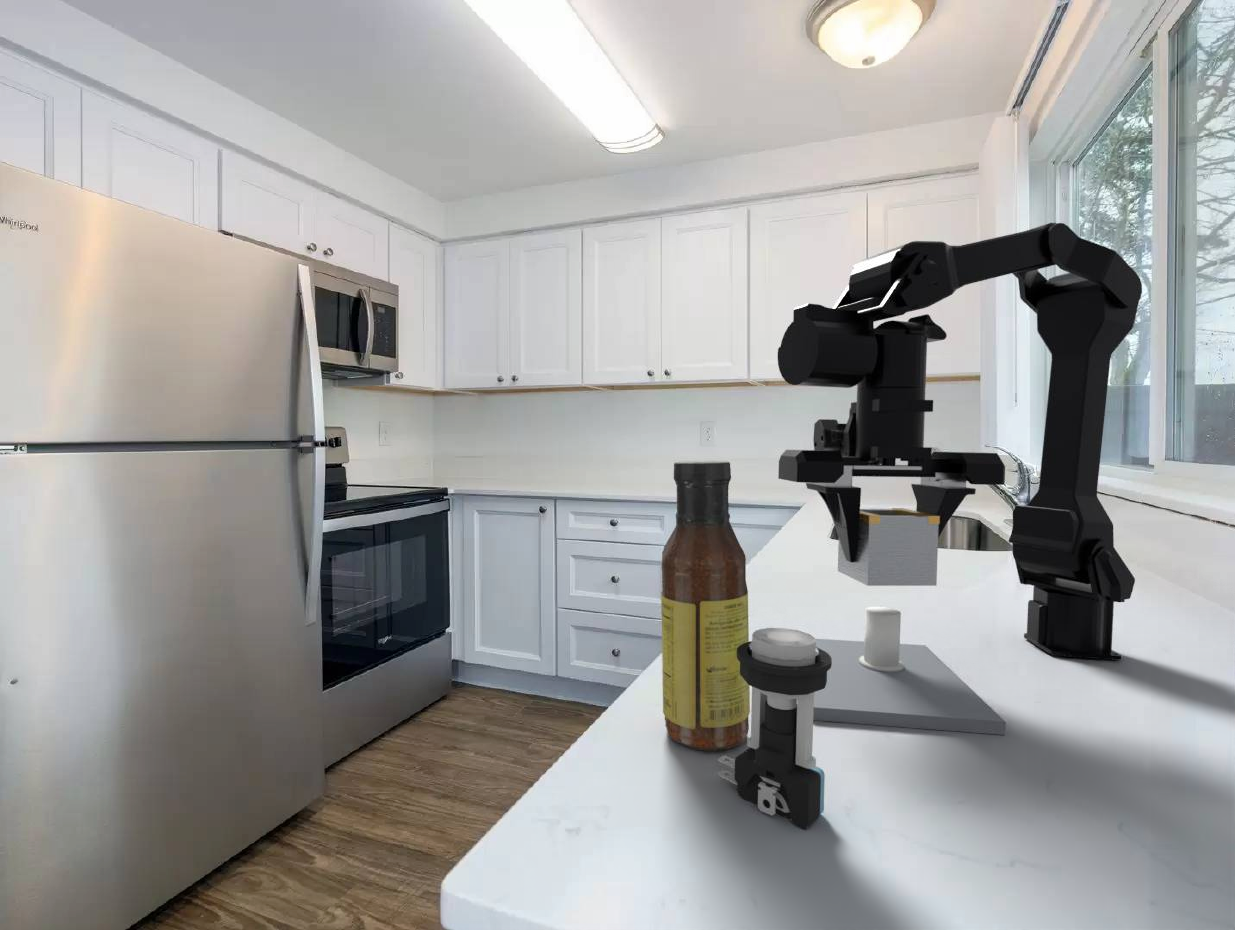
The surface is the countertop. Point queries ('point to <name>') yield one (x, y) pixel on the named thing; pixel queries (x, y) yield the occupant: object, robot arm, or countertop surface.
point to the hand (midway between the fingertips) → (885, 561)
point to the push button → (781, 725)
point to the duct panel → (897, 684)
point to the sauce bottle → (704, 614)
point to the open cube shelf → (894, 548)
